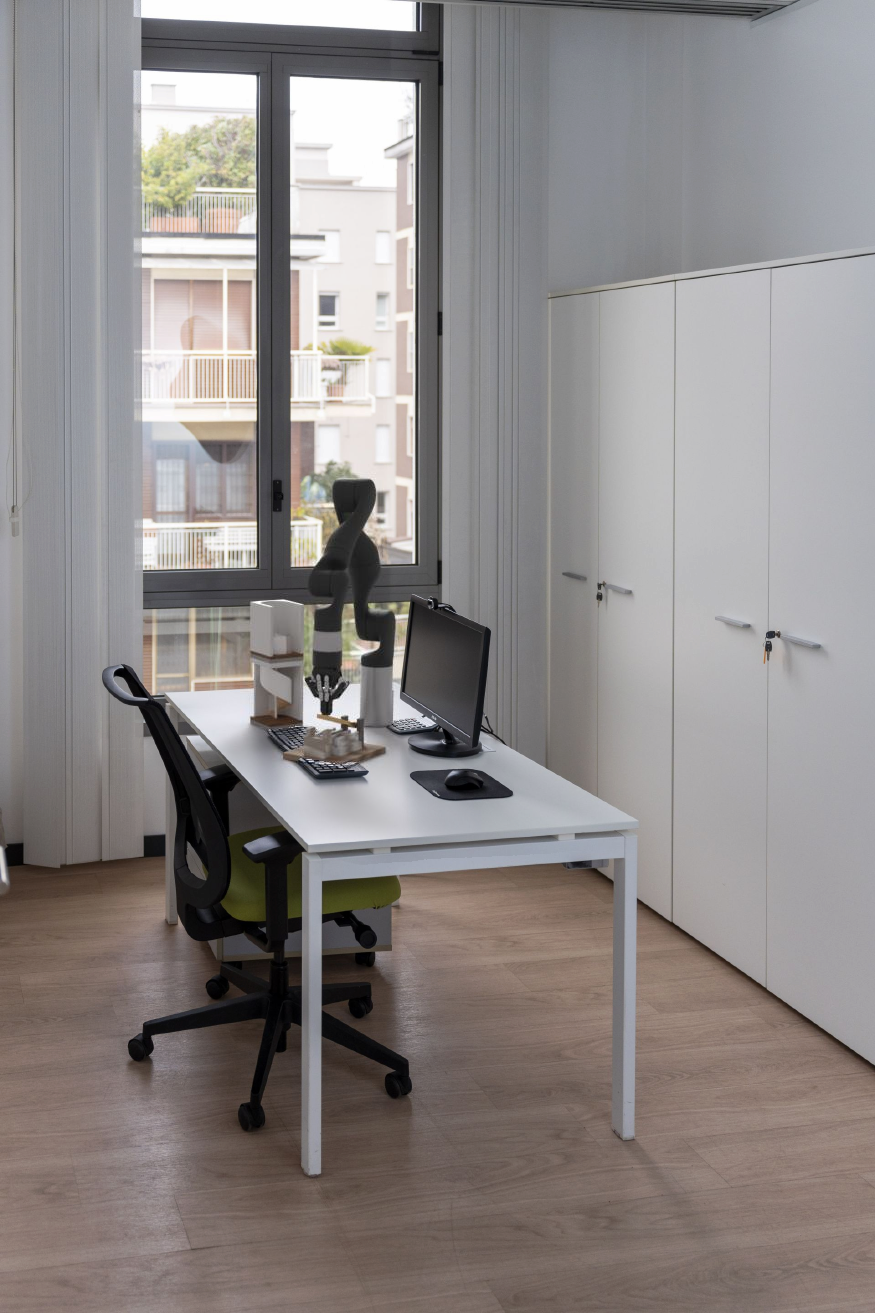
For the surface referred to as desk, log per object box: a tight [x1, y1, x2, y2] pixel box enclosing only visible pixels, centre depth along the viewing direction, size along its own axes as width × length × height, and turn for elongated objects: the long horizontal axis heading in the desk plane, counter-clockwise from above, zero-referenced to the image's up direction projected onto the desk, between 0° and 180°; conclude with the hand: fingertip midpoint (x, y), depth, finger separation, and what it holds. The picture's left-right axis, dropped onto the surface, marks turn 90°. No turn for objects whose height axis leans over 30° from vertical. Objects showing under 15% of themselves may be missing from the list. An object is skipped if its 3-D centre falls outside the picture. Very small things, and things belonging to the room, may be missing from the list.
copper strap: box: [316, 713, 357, 729], centre depth 344 cm, size 16×3×2 cm, turn 151°
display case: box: [249, 599, 305, 731], centre depth 374 cm, size 11×11×35 cm
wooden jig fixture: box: [282, 714, 387, 764], centre depth 344 cm, size 21×18×9 cm
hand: (326, 715), depth 339 cm, fingers closed
